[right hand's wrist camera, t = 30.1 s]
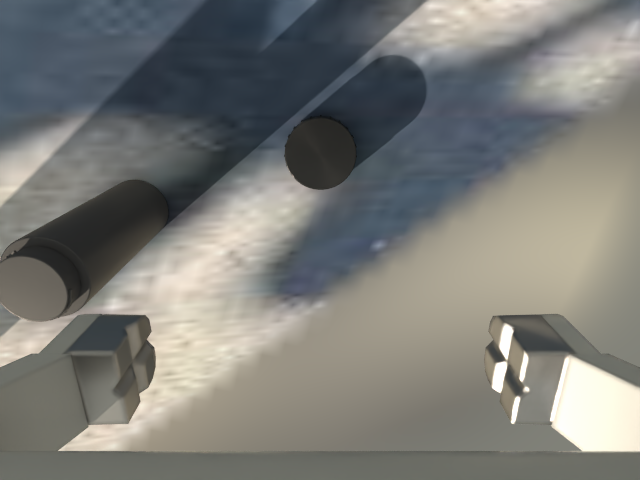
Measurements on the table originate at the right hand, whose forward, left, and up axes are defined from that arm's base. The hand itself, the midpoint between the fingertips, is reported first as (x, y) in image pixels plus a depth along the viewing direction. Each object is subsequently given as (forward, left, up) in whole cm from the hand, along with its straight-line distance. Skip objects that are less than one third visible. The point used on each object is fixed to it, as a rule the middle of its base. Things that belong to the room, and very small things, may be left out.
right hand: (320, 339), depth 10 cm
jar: (+15, -6, -26) cm, 31 cm away
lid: (0, 0, -25) cm, 25 cm away
